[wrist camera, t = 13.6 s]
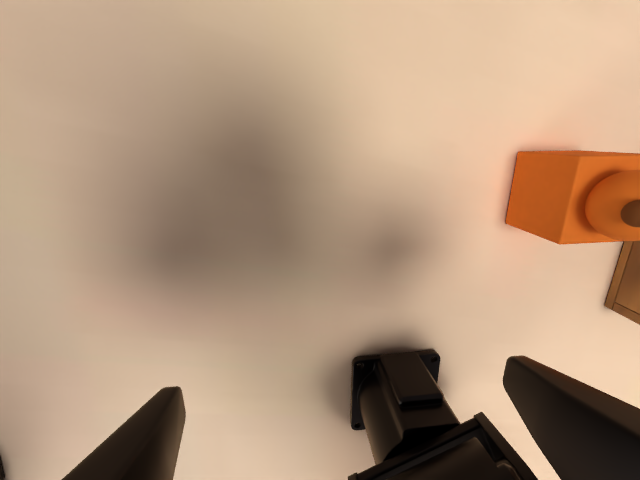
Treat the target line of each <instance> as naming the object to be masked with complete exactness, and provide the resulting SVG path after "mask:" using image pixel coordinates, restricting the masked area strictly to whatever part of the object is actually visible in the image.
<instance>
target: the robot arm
mask: <svg viewBox="0 0 640 480" xmlns="http://www.w3.org/2000/svg"><path fill="white" fill-rule="evenodd" d="M432 357H434V358H432ZM431 358H432V359H431ZM359 363H362V364H361V365H357V364H359ZM439 365H440V356H439V355H438V353H437V352H436V351H434V350H429V351H418V352H406V353H394V354H382V355H370V356H359V357H356V358H354V359H353V361H352V376H351V411H350V423H351V427H352V429H353V430H364V429H366V432H367V436H368V439H369V443H370V446H371V450H372V453H373V457H374V460H375V464H376V465H375V466H373V467H371V468H369V469H367V470H365V471H363V472H361V473H358V474H357V473H354V474H352V475H350V476H348V480H538V479H537V478H536V476H535V475H534V473H533V472H532V471H531V469H530V468H529V467H528V466H527V464H526V463H525V462H524V461H523V460H522V458H521V457H520V456H519V455H518V454H517V452H516V451H515V450H514V449H513V448H512V447H511V445H510V444H509V443H508V442H507V441H506V439H505V438H504V437H503V436H502V435H501V434H500V432H499V431H498V430H497V429H496V428H495V427H494V425H493V424H492V423H491V422H490V421H489V419H488V418H487V417H486V416H485V415H484V414H483V412H480V413H478V414H476V415H474V418H472V419H470V420H468V421H466V422H464V423H462V424H460V422H459V421H458V419H457V417H456V416H455V414H454V413H453V411H452V409H451V408H450V406H449V405H448V403H447V401H446V400H445V398H444V395H443V393H442V391H441V390H440V388H439V387H438V385H437V380H438V372H439ZM503 385H504V388H505V390H506V392H507V394H508V395H509V397H510V399H511V401H512V402H513V404H514V406H515V408H516V409H517V411H518V413H519V415H520V416H521V418H522V420H523V422H524V423H525V425H526V427H527V428H528V430H529V432H530V434H531V435H532V437H533V439H534V440H535V442H536V444H537V445H538V447H539V448H540V450H541V451H542V453H543V454H544V455H545V457H546V458H547V460H548V461H549V463H550V464H551V466H552V467H553V469H554V470H555V471H556V473H557V474H558V476H559V477H560V479H561V480H640V409H639V408H637V407H634V406H632V405H630V404H628V403H626V402H624V401H621V400H619V399H617V398H615V397H613V396H611V395H608V394H606V393H604V392H602V391H600V390H598V389H595V388H593V387H591V386H589V385H587V384H584V383H582V382H580V381H578V380H576V379H574V378H571V377H569V376H567V375H565V374H563V373H561V372H558V371H556V370H554V369H552V368H550V367H548V366H545V365H543V364H541V363H539V362H537V361H534V360H532V359H530V358H528V357H526V356H511V357H509V358H508V359H507V362H506V366H505V371H504V376H503ZM185 417H186V412H185V406H184V400H183V395H182V390H181V388H180V387H178V386H176V387H165V388H163V389H161V390H160V391H159V392H158V393H157V394H156V395H154V396H153V397H152V398H151V399H150V400H149V401H148V402H147V403H146V404H145V405H143V406H142V407H141V408H140V409H139V410H138V411H137V412H136V413H135V414H134V415H132V416H131V417H130V418H129V419H128V420H127V421H126V422H125V423H124V424H122V425H121V426H120V427H119V428H118V429H117V430H116V431H115V432H114V433H113V434H111V435H110V436H109V437H108V438H107V439H106V440H105V441H104V442H103V443H102V444H100V445H99V446H98V447H97V448H96V449H95V450H94V451H93V452H92V453H91V454H89V455H88V456H87V457H86V458H85V459H84V460H83V461H82V462H81V463H80V464H78V465H77V466H76V467H75V468H74V469H73V470H72V471H71V472H70V473H69V474H67V475H66V476H65V477H64V478H63V479H62V480H173V476H174V472H175V467H176V462H177V457H178V452H179V448H180V443H181V438H182V433H183V428H184V424H185Z"/></svg>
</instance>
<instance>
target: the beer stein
mask: <svg viewBox="0 0 640 480" xmlns="http://www.w3.org/2000/svg"><path fill="white" fill-rule="evenodd" d="M4 477H5V476H4V472H3V468H2V464H1V459H0V480H4Z"/></svg>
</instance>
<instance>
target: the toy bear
mask: <svg viewBox="0 0 640 480" xmlns="http://www.w3.org/2000/svg"><path fill="white" fill-rule="evenodd" d="M506 224H509V225H511V226H514V227H516V228H519V229H522V230H524V231H527V232H529V233H532V234H534V235H537V236H539V237H542V238H545V239H547V240H550V241H552V242H555V243H557V244H576V243H596V242H615V241H640V154H635V153H616V152H596V151H527V152H518V155H517V161H516V167H515V172H514V178H513V183H512V189H511V194H510V200H509V206H508V211H507V217H506Z"/></svg>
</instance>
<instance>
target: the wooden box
mask: <svg viewBox="0 0 640 480" xmlns="http://www.w3.org/2000/svg"><path fill="white" fill-rule="evenodd" d="M605 307H607V308H609V309H611V310H613V311H615V312H617V313H619V314H621V315H622V316H624V317H626V318H628V319H630V320H632V321H634V322H636V323H638V324H640V241H624V244H623V247H622V251H621V254H620V257H619V260H618V264H617V267H616V270H615V273H614V277H613V280H612V283H611V286H610V290H609V293H608V296H607V299H606V303H605Z"/></svg>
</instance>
